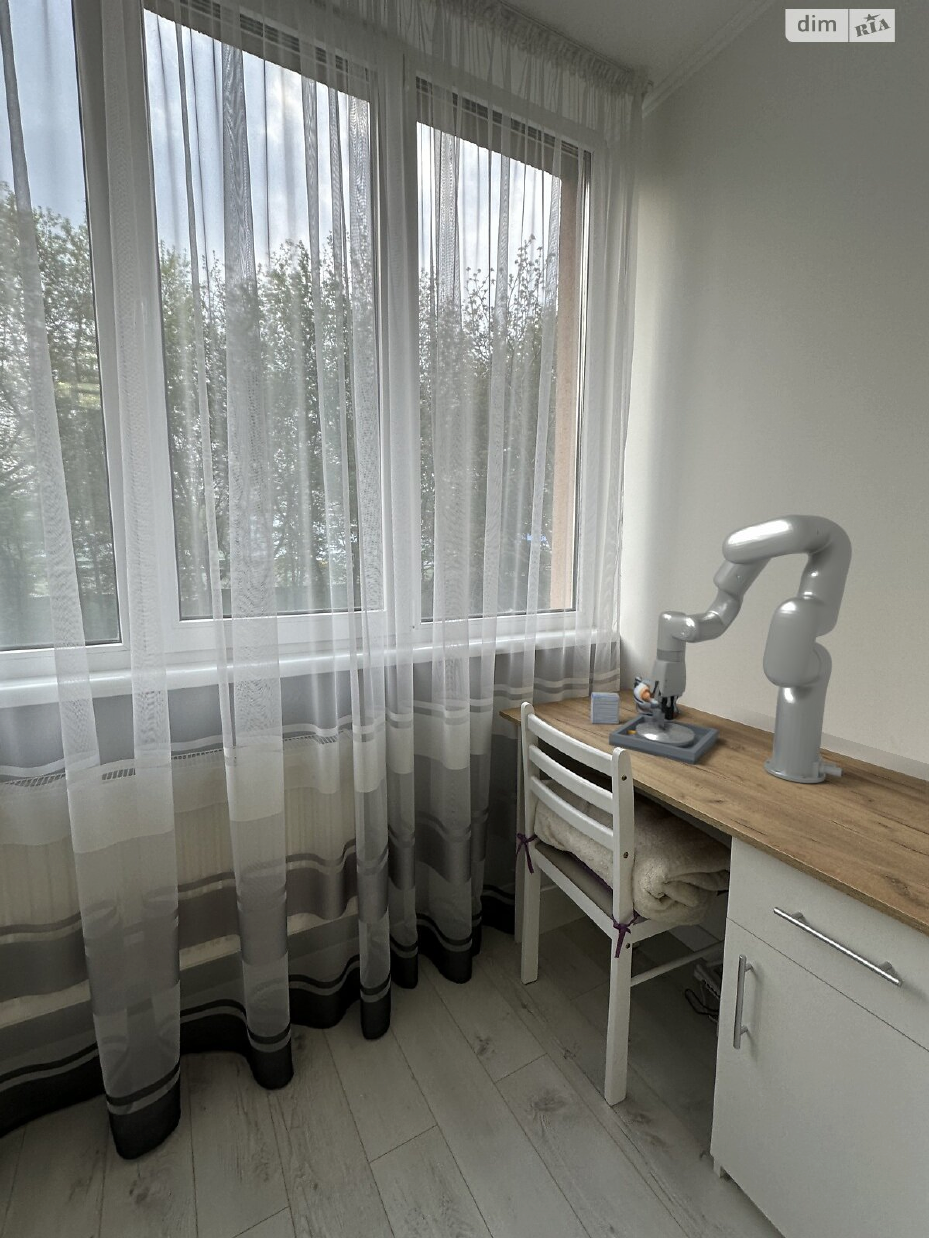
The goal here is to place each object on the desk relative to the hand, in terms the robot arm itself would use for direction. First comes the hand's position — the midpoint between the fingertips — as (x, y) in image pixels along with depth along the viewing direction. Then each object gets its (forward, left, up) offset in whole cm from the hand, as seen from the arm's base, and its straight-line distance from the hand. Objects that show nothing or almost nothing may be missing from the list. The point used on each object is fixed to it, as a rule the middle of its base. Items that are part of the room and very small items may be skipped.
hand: (667, 718), depth 160 cm
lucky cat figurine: (+8, -15, -4) cm, 18 cm away
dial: (-2, +8, -3) cm, 9 cm away
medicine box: (+18, +2, -4) cm, 19 cm away
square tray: (-2, +8, -4) cm, 9 cm away
